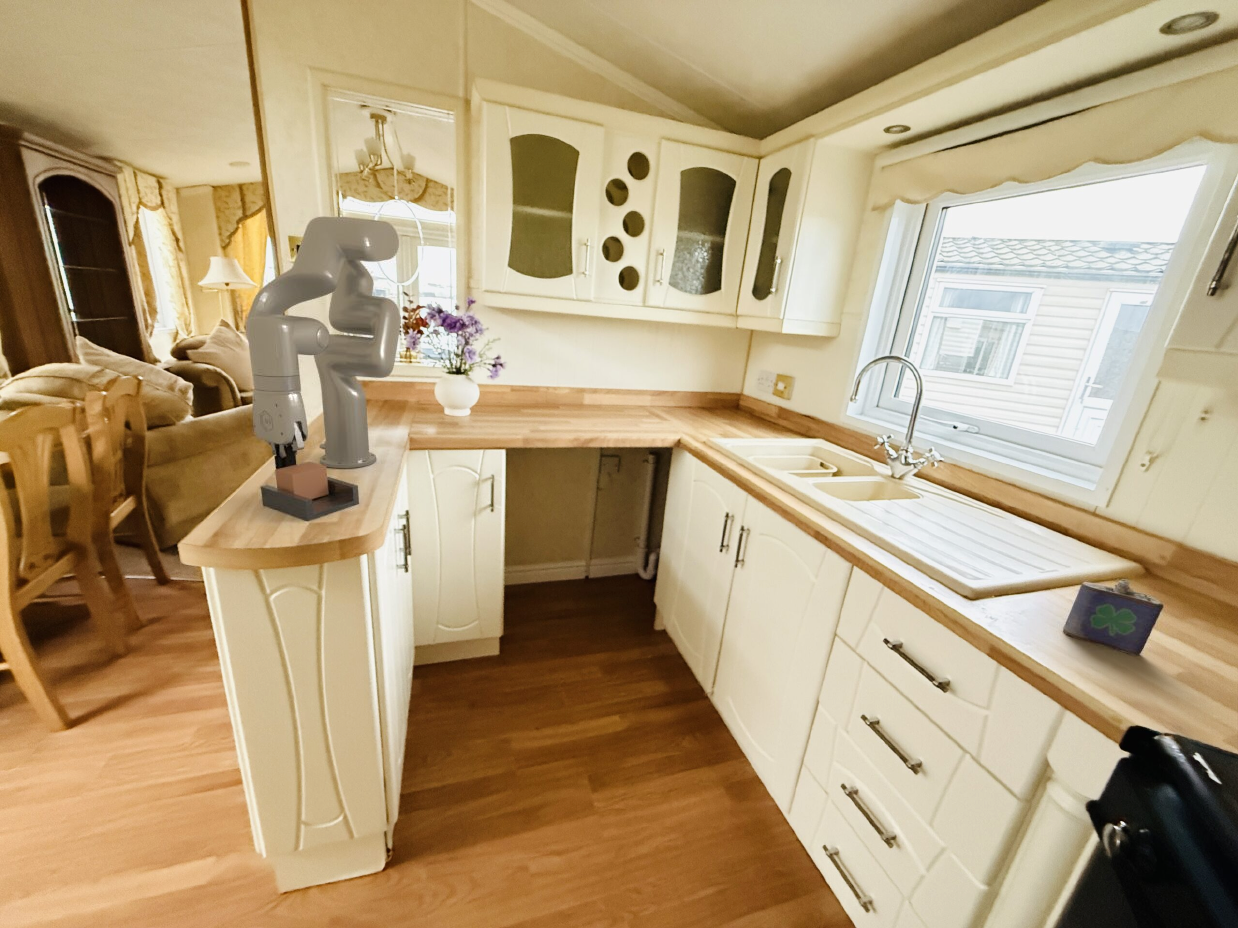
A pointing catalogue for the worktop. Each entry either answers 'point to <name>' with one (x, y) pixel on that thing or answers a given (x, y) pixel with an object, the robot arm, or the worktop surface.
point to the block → (303, 480)
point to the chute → (311, 500)
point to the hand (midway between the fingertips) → (287, 473)
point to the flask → (1113, 616)
